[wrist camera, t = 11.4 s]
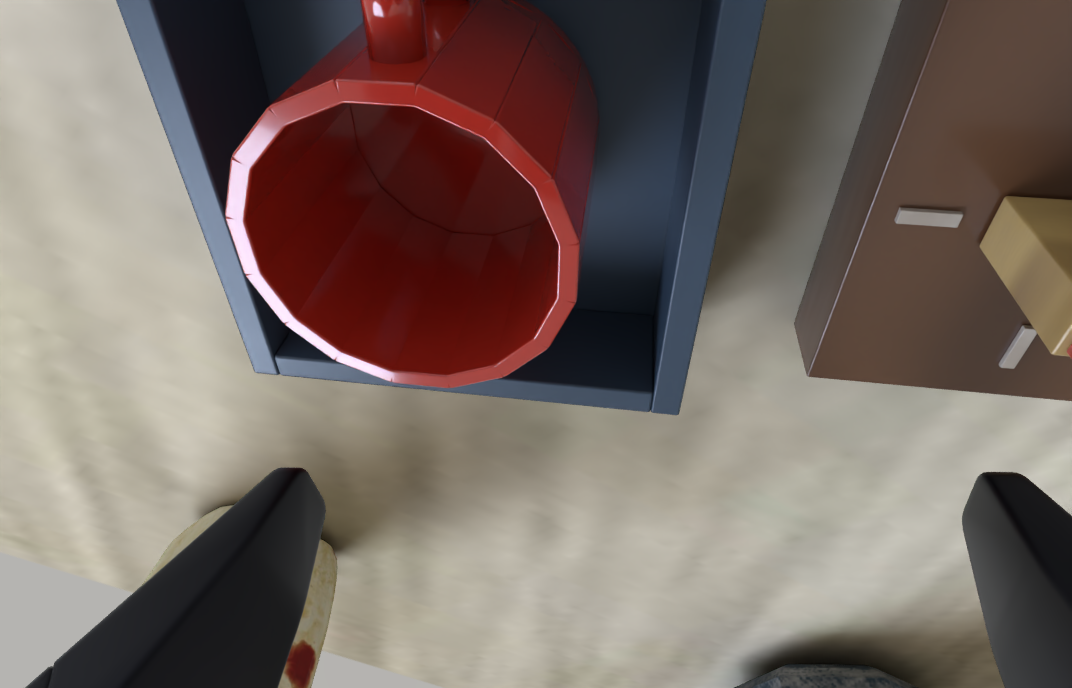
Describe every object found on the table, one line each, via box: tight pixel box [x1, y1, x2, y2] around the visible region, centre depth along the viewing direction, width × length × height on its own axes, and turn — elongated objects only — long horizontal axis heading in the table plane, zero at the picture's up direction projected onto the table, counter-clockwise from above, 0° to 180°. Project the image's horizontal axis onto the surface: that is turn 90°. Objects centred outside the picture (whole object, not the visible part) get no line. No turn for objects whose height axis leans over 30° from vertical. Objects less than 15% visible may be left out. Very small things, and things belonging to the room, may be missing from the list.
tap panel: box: [794, 0, 1072, 401], centre depth 16 cm, size 10×11×3 cm
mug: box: [225, 0, 600, 388], centre depth 14 cm, size 9×7×6 cm
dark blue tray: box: [116, 0, 767, 415], centre depth 16 cm, size 13×15×4 cm
